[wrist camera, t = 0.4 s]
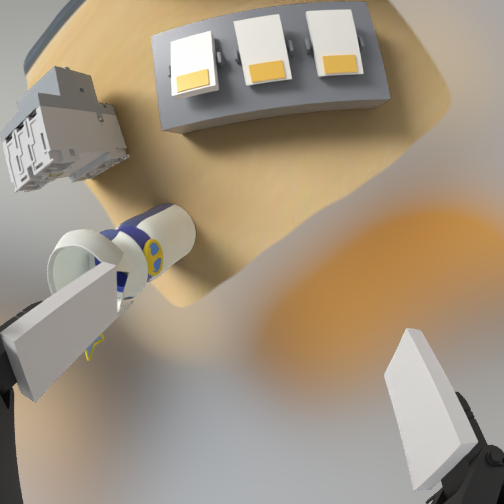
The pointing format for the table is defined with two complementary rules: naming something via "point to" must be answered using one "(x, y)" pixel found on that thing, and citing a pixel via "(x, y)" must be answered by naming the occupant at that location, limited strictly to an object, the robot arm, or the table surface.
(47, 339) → the robot arm
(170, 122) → the panel
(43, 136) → the circuit breaker
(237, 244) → the table surface
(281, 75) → the block
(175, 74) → the rocker
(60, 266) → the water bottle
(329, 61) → the rocker
